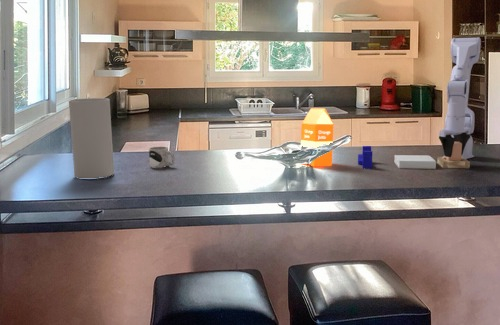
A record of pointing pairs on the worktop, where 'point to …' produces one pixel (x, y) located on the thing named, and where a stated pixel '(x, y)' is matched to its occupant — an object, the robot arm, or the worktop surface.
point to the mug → (160, 157)
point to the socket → (453, 163)
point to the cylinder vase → (91, 137)
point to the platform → (415, 161)
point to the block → (456, 152)
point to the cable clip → (365, 157)
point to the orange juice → (318, 134)
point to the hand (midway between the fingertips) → (453, 155)
